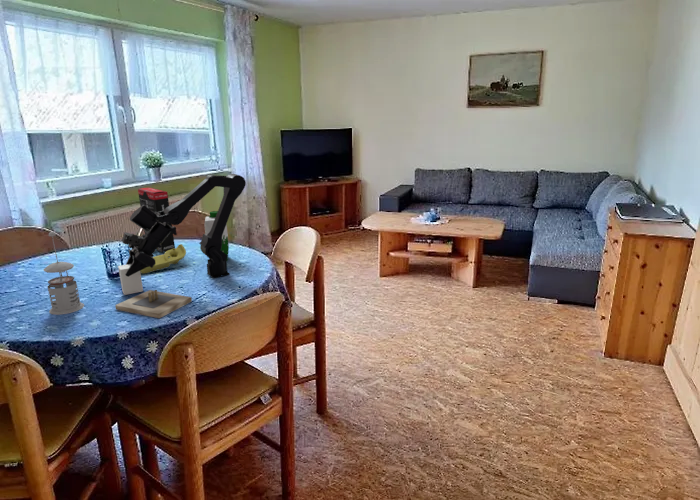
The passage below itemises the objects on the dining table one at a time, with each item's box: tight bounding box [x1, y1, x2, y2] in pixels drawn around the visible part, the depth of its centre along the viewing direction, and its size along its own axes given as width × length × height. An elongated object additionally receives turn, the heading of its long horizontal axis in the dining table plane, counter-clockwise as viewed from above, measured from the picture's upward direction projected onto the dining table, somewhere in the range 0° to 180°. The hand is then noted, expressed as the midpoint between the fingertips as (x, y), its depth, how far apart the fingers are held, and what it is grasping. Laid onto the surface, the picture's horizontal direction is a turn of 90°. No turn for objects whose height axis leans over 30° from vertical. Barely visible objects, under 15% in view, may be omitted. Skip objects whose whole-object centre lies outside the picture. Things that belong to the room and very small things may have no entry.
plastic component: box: [140, 243, 187, 275], centre depth 188 cm, size 20×7×10 cm
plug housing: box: [117, 264, 144, 296], centre depth 161 cm, size 6×5×9 cm
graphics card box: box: [137, 187, 176, 253], centre depth 210 cm, size 17×7×27 cm, turn 46°
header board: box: [114, 289, 193, 319], centre depth 149 cm, size 14×18×5 cm
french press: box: [43, 231, 85, 316], centre depth 146 cm, size 10×12×25 cm
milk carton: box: [204, 210, 230, 262], centre depth 193 cm, size 9×9×20 cm
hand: (125, 273), depth 159 cm, fingers closed on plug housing, 5 cm apart
